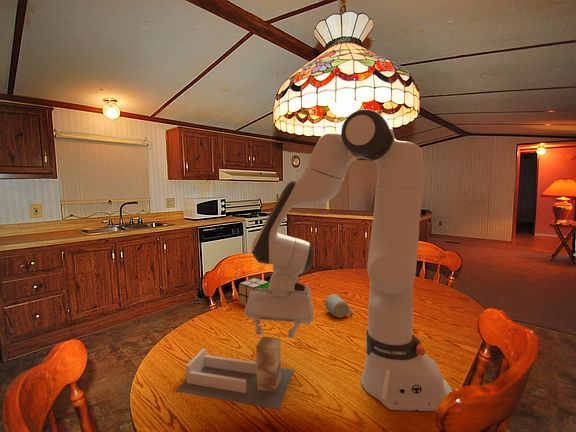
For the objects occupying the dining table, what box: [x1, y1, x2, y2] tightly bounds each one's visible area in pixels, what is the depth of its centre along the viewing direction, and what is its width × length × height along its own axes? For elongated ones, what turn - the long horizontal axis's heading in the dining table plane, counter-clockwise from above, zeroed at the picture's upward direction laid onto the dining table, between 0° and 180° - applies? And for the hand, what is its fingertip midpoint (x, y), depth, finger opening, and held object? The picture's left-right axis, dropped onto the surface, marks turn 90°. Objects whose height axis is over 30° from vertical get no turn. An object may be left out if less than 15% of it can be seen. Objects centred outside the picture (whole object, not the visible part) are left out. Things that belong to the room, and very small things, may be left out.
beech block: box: [255, 336, 282, 393], centre depth 80 cm, size 5×5×12 cm
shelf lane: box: [175, 347, 295, 410], centre depth 83 cm, size 28×16×6 cm, turn 76°
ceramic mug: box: [324, 293, 354, 319], centre depth 125 cm, size 11×8×8 cm
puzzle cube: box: [238, 277, 270, 307], centre depth 137 cm, size 10×10×10 cm
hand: (274, 335), depth 84 cm, fingers open, 8 cm apart
